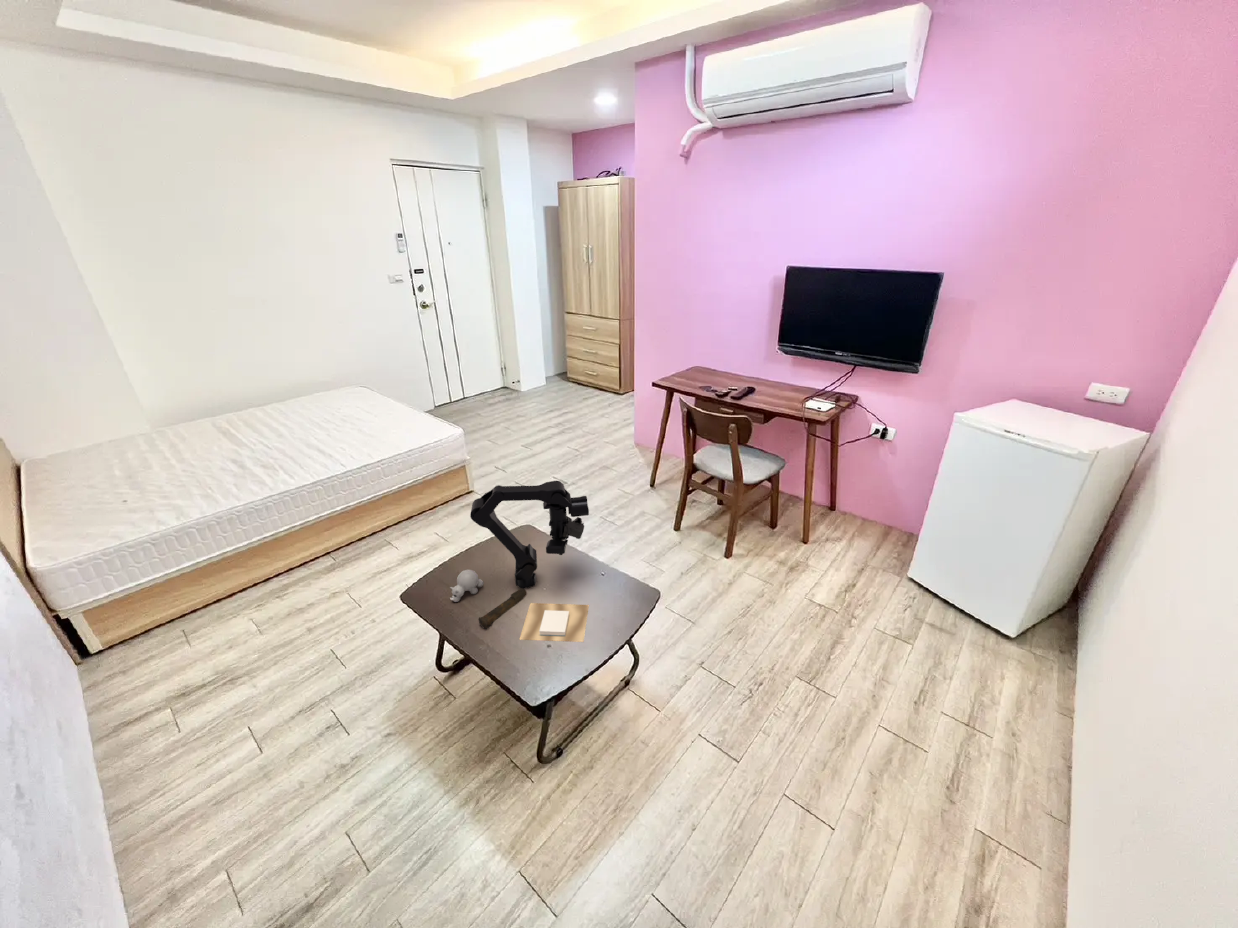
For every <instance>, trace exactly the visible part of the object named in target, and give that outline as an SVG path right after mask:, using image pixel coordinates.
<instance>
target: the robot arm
mask: <svg viewBox="0 0 1238 928" xmlns="http://www.w3.org/2000/svg"><path fill="white" fill-rule="evenodd" d="M510 501H511V502H518V501H541V502H542V504H543V505H542V508H543V510H548V513H549V523H548V526H549V527H550V531H549V536H550V537H551V539H549V540H548V541H547V542H546V546H545V552H546V554H548V555H549V554H552V555H559V556H563V554H566V549H567V545H568V542H569V538H570V537H572V538H575V539H576V540H581V538H582V536H583V533H584V529H585V525H584V522H583V520H582V517H586V516H590V509H589V505H588V504H589V503H588V497H587V495H582V496H577V497H574V496H573V497H571V493H569V491H568V490H567V489H566V488H565V485H564V484H563V482H561V481H560V480H553V481H547V482H544V483H541V484H538V485H504V486H503V485H499V484H498V485H496V486H494V487H493V488H492V489H491V490H488V491H487V492H485V493H484V494H482V496H481V497H480V498H476V499H474V501H472V503H471V509H470V515H469V517H470V519H471V520H472V522H474V523H475V524H477V525H478V526H480V527H482V528H485V529H488V530H489V532H490V533H491V534H492V535H494V537H495V538H496V539H497V540H498V541H499V542H500V543H501V544H502V545H503V546H504V547H505V548H506V549H507V550H508V551H509V552H510V553H511V555H513V557H514V559H515V564H514V566H515V571H514V581H515V587H518V588H519V589H529V588H530V587H535V586H536V583H537V575H536V573H535V571H536V570H537V569H538V553H537V549H535V548H534V547H533V546H532V544H530V543H528V545H524V544H523V543H521V541H520V540H519V539H518V538H517V537H516V536H515V534H513V533H512V531H510V529H509V528H508V527H507V526H506V525H505V524H504V523H503V522H502V521H501V520H500V519H499V518H498V516H497V514H496V512H495V509H496V508H497V507H498V506H499V505H500V504H501V503H502V502H510ZM567 513H568V515H570V516H568V515H567ZM571 517H572V518H574V519H572V518H571Z"/></svg>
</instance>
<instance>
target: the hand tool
mask: <svg viewBox="0 0 1238 928" xmlns="http://www.w3.org/2000/svg"><path fill="white" fill-rule="evenodd" d="M527 594H528V592H527V590H526V588H519V589H517V590H515V591H513V592H512V593H511V594H510V597H508V598H507V599H506V600H504V601H503V602H502V603H500V604H499V605H497V606H496V607H495V608H492V610H490V611H489V612H487V613H486V614H484V615H483V616H480V617H478V624H479V625H480V626H481V627H482V629H484V630H487V629H488V627H491V625H492V624H493V623H494V622H495V621H496V620H498V618H500V617H501V616H503V615H504V614H505V613H507V612H508V611H509V610H511V609H512V608H513V607H515V606H516V605H518V604H519V603H520V602H521V601H522V600H524V598H525V597H526V596H527Z"/></svg>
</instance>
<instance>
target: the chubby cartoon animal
mask: <svg viewBox="0 0 1238 928" xmlns="http://www.w3.org/2000/svg"><path fill="white" fill-rule="evenodd" d="M483 585H484V581H483V580H482V579H481V578H479V575H478V573H477V572H476V571H475V570H472V569H464V570H462V571H461V572H460V573H459V574H458V576H457V578H456V585H454V586H449V589H451V593H452V596H451V597H449V599H450V601H453V602H455V603H457V602H459V601H460V600H461V599H462V597H463V596H464V594H465V592H467V591H468V592H469V593H470V594H471V595H476V594H477V593H478V590H479V589H478V588H481V587H483Z"/></svg>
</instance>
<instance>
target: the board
mask: <svg viewBox="0 0 1238 928" xmlns="http://www.w3.org/2000/svg"><path fill="white" fill-rule="evenodd" d="M589 607H590V605H589V604H573V603H571V604H570V603H545V602H544V603H542V602H541V603H539V602H537V603H536V602H530V604H529V606H528V610H527V613H526V616H525V619H524V622H523V623H524V624H523V627H522V628H521V629H522V630H521V633H520V637H519V639H518V640H520V641H544V642H545V641H546V642H548V641H549V642H570V643H571V642H572V643H573V642H574V643H576V642H577V643H584V641H585V637H586V636H585V634H586V629H587V622H588V614H589ZM545 610H551V611H569V619H568V624H567V630H566V635H565V636H543V635H540V633H539V630H540V627H541V623H542V619H543V615H544V611H545Z"/></svg>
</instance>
